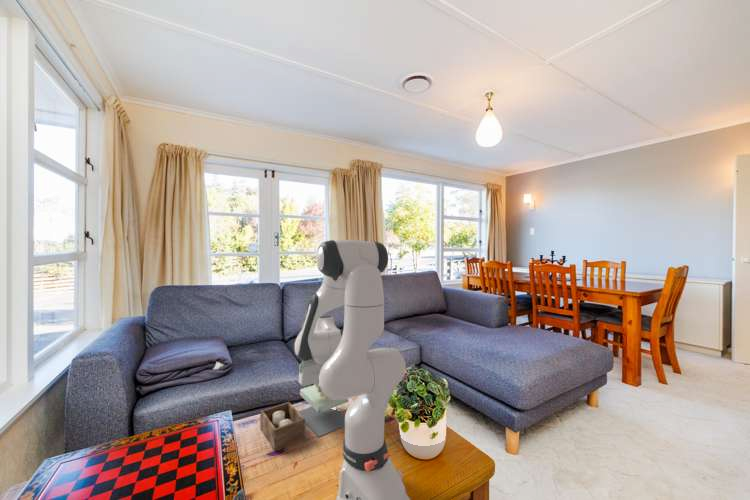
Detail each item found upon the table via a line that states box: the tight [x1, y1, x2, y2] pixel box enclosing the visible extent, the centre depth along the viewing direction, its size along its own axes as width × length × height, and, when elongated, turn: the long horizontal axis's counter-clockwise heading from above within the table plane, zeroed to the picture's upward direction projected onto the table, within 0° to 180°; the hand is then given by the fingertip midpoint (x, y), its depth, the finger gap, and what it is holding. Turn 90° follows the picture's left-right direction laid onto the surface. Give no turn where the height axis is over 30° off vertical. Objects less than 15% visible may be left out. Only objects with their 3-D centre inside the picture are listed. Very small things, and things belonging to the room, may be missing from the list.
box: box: [259, 401, 306, 452], centre depth 109 cm, size 15×11×7 cm
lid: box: [299, 384, 349, 413], centre depth 119 cm, size 17×13×6 cm
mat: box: [297, 406, 346, 438], centre depth 120 cm, size 20×15×1 cm
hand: (323, 390), depth 119 cm, fingers closed on lid, 3 cm apart
